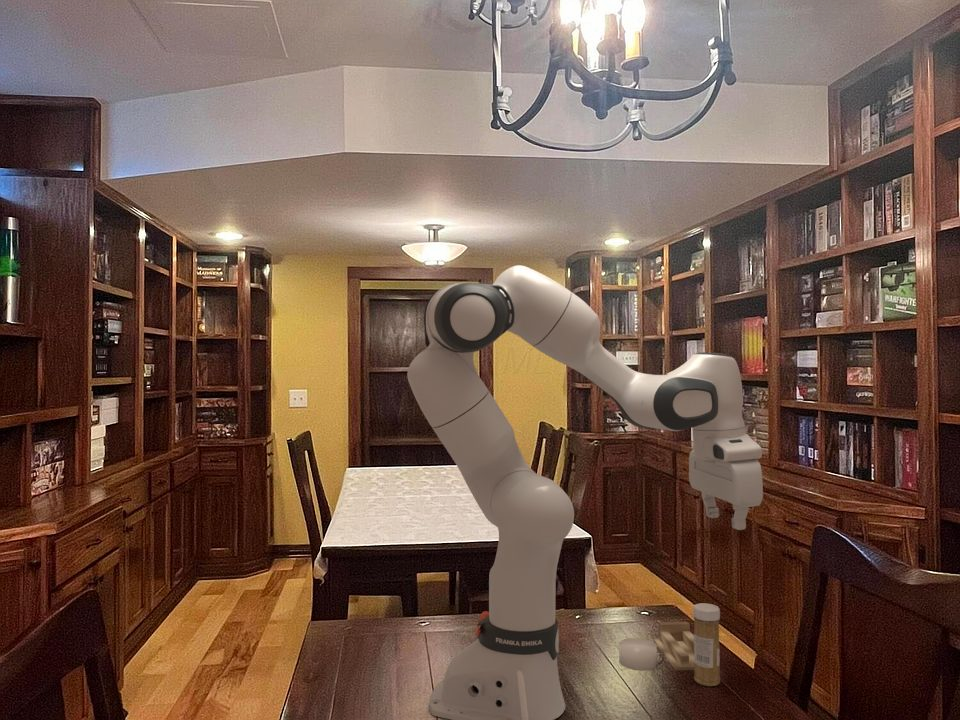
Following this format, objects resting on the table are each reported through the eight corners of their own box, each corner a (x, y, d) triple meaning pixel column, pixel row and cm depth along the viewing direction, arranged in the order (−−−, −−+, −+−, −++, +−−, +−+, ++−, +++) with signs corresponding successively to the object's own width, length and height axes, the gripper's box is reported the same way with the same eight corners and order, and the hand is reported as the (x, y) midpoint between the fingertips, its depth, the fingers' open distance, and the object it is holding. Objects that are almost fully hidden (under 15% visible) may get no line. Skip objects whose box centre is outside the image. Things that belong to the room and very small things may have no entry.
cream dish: (619, 669, 134) (618, 650, 135) (619, 654, 141) (619, 636, 141) (657, 672, 133) (657, 653, 133) (656, 657, 140) (656, 639, 140)
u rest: (718, 669, 134) (718, 647, 134) (675, 670, 134) (675, 648, 134) (692, 641, 148) (692, 621, 148) (653, 641, 148) (653, 622, 148)
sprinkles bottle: (725, 683, 128) (725, 607, 128) (708, 689, 126) (708, 612, 126) (704, 674, 132) (704, 600, 132) (688, 680, 129) (687, 605, 130)
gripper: (677, 439, 136) (683, 512, 136) (731, 452, 116) (737, 538, 116) (709, 436, 137) (714, 509, 137) (767, 449, 117) (773, 534, 117)
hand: (725, 522), depth 126 cm, fingers open, 8 cm apart
